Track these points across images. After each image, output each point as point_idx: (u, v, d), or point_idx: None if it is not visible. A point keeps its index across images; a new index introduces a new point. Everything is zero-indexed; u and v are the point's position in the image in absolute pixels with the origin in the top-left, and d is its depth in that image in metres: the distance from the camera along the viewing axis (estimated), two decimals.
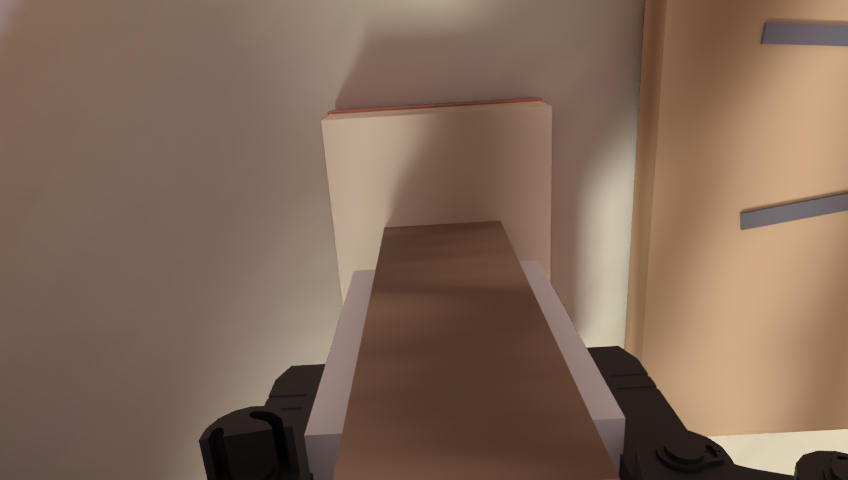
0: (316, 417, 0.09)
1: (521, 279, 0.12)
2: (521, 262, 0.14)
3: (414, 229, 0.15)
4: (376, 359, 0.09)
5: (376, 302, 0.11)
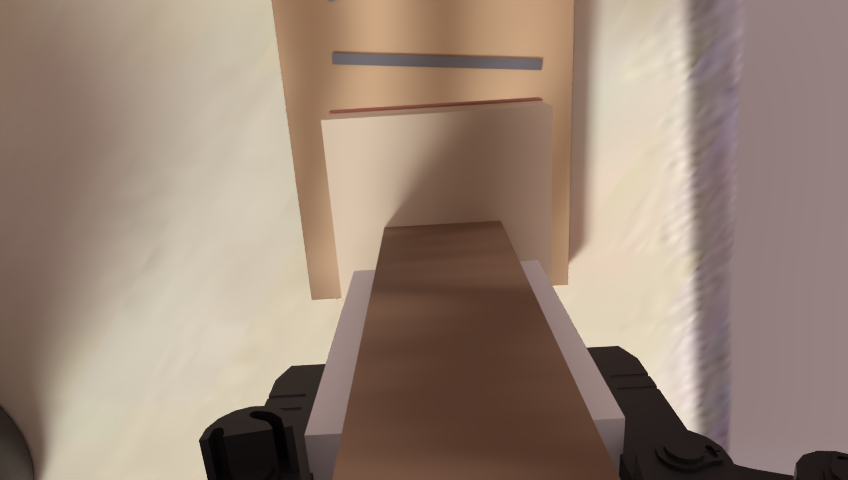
0: (316, 417, 0.09)
1: (522, 279, 0.12)
2: (521, 262, 0.14)
3: (414, 229, 0.15)
4: (376, 359, 0.09)
5: (376, 302, 0.11)
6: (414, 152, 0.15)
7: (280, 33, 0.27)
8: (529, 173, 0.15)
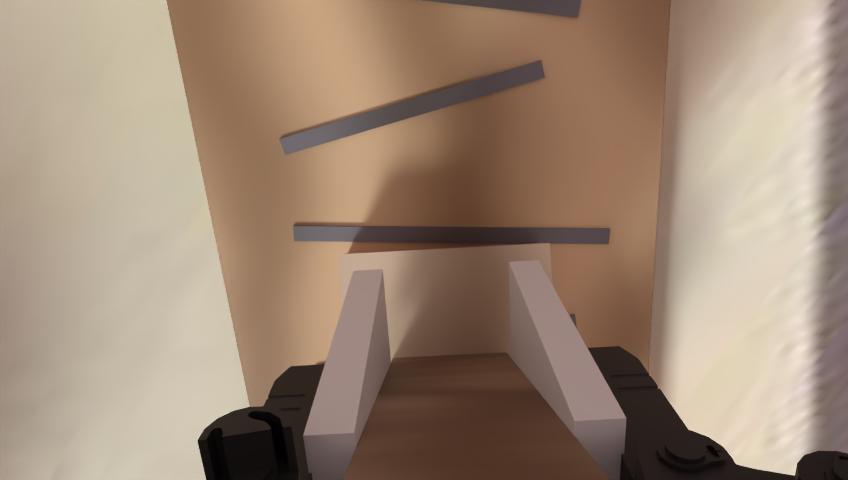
0: (315, 417, 0.09)
1: (527, 385, 0.12)
2: (522, 262, 0.14)
3: (422, 358, 0.16)
4: (381, 433, 0.09)
5: (382, 400, 0.11)
6: (423, 284, 0.16)
7: (214, 199, 0.18)
8: None
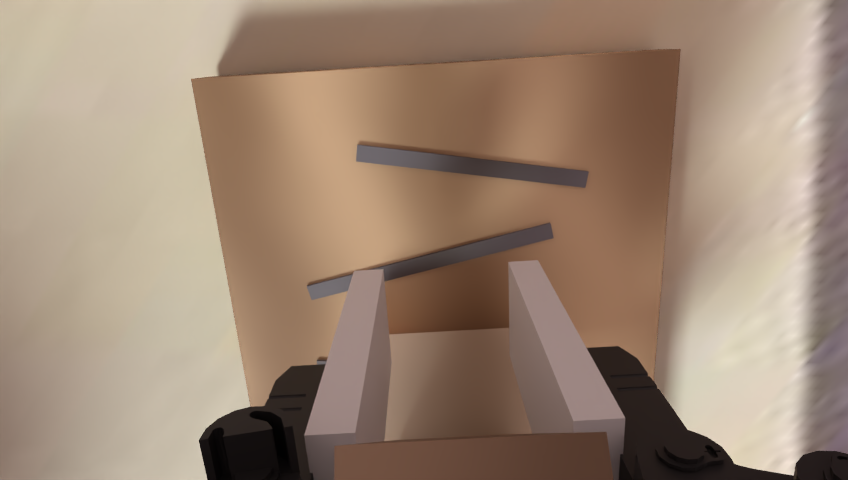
0: (316, 417, 0.09)
1: None
2: (521, 262, 0.14)
3: (427, 437, 0.16)
4: None
5: None
6: (428, 366, 0.17)
7: (243, 336, 0.19)
8: None
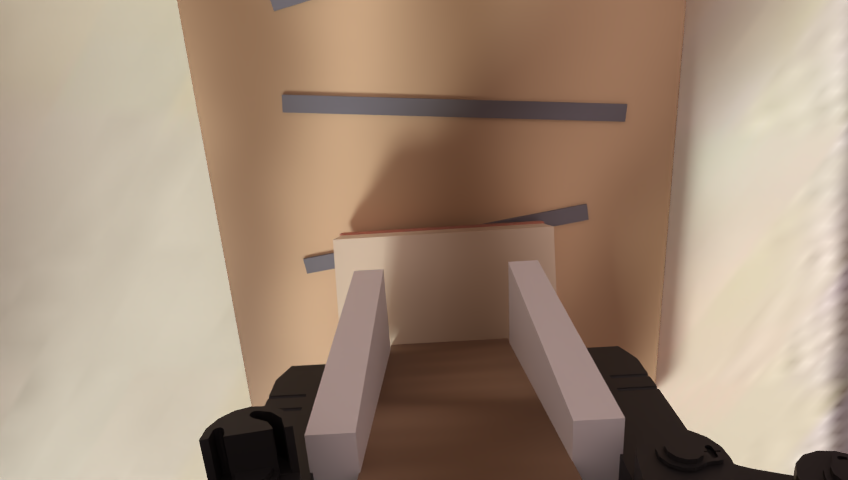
0: (316, 417, 0.09)
1: (530, 391, 0.11)
2: (521, 262, 0.14)
3: (421, 346, 0.15)
4: (380, 468, 0.09)
5: (381, 413, 0.11)
6: (421, 270, 0.15)
7: (195, 62, 0.16)
8: None
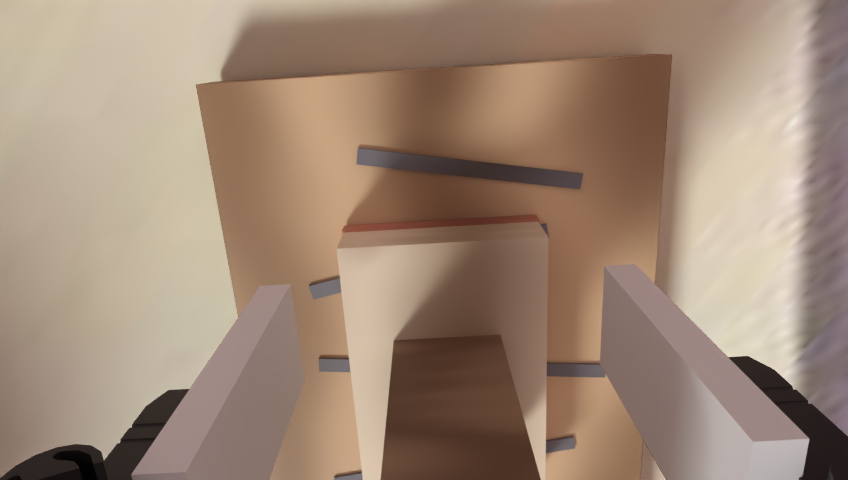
0: (152, 453, 0.08)
1: (520, 422, 0.13)
2: (618, 266, 0.14)
3: (421, 345, 0.17)
4: None
5: (390, 449, 0.12)
6: (421, 276, 0.16)
7: None
8: (527, 294, 0.17)
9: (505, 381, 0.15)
